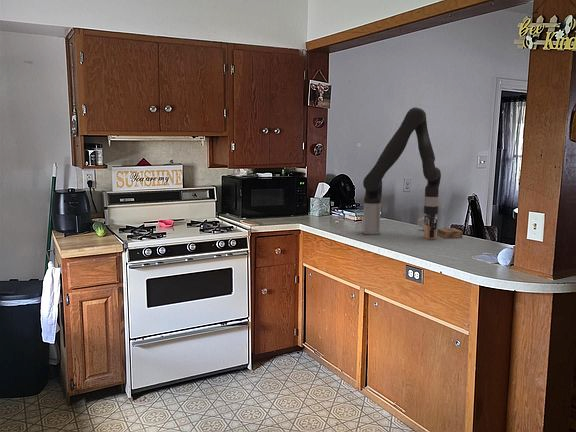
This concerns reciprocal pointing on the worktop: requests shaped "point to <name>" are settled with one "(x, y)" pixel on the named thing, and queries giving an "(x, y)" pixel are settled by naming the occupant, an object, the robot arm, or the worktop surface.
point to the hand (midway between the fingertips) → (429, 236)
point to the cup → (423, 222)
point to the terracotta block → (428, 232)
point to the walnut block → (449, 233)
